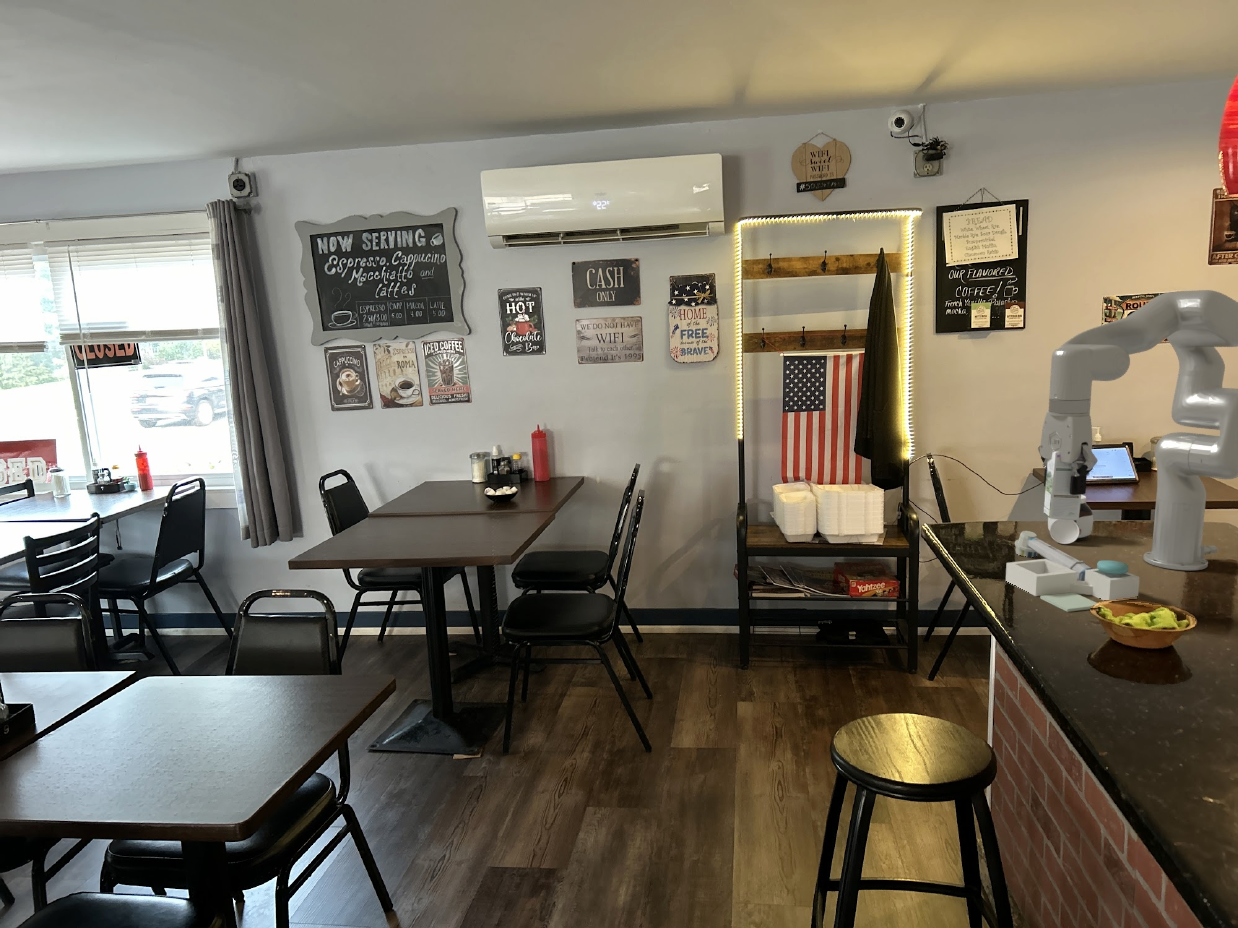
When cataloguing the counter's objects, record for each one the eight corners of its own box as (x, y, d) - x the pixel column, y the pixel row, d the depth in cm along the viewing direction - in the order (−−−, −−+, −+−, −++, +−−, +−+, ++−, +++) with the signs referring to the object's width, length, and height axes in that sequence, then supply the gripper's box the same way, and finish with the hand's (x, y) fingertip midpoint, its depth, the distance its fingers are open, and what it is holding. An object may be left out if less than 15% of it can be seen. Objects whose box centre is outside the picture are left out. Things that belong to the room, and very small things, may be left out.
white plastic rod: (1079, 568, 174) (1012, 525, 198) (1074, 595, 176) (1009, 549, 200) (1100, 567, 175) (1031, 524, 198) (1095, 593, 177) (1028, 548, 200)
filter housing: (1076, 573, 182) (1078, 553, 181) (1137, 599, 165) (1139, 576, 164) (1005, 581, 179) (1006, 560, 178) (1060, 608, 162) (1061, 585, 161)
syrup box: (1079, 520, 161) (1087, 452, 159) (1048, 518, 163) (1055, 451, 161) (1071, 515, 167) (1078, 448, 165) (1041, 513, 168) (1048, 447, 166)
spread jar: (1081, 533, 212) (1084, 492, 210) (1102, 545, 201) (1105, 502, 199) (1035, 534, 214) (1038, 493, 212) (1054, 546, 203) (1056, 503, 201)
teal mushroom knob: (1111, 586, 170) (1113, 559, 169) (1132, 594, 165) (1134, 566, 164) (1089, 588, 170) (1091, 561, 168) (1109, 597, 164) (1111, 569, 163)
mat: (1073, 594, 169) (1073, 592, 169) (1101, 607, 161) (1101, 604, 161) (1040, 598, 167) (1040, 595, 167) (1067, 611, 160) (1067, 608, 160)
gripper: (1025, 404, 169) (1021, 483, 172) (1083, 413, 152) (1077, 500, 155) (1056, 402, 170) (1052, 480, 173) (1117, 410, 153) (1111, 497, 156)
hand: (1064, 489), depth 164 cm, fingers closed on syrup box, 7 cm apart
